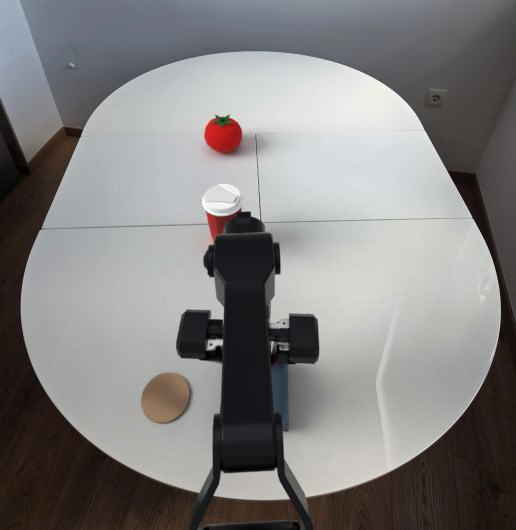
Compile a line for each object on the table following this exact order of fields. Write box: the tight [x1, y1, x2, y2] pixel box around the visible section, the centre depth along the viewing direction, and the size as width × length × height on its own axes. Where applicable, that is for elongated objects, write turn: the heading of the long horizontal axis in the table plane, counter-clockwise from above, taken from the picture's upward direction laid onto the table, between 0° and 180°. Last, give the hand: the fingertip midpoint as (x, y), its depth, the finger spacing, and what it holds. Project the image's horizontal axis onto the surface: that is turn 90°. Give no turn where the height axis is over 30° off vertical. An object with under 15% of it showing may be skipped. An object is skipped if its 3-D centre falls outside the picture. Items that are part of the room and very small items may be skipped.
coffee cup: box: [201, 183, 244, 244], centre depth 90 cm, size 8×8×15 cm
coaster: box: [140, 372, 191, 424], centre depth 72 cm, size 8×8×1 cm
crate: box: [219, 365, 289, 432], centre depth 71 cm, size 11×11×4 cm
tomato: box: [203, 114, 243, 154], centre depth 117 cm, size 10×10×10 cm
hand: (249, 362), depth 64 cm, fingers closed on can, 6 cm apart
